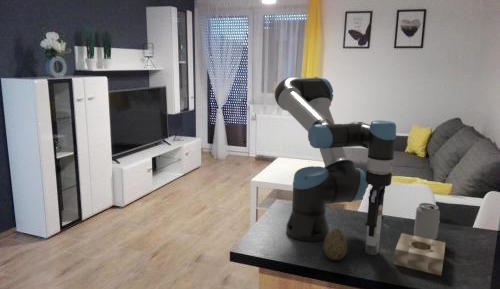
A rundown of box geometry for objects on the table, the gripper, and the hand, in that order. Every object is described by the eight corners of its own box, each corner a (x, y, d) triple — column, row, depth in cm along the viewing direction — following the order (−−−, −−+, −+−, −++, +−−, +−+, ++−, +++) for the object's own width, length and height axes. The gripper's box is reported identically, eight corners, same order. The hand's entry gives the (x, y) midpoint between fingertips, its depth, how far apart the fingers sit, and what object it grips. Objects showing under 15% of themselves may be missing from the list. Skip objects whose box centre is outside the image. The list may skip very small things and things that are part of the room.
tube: (363, 253, 124) (367, 205, 121) (366, 248, 128) (370, 201, 125) (377, 256, 122) (381, 208, 119) (379, 251, 126) (384, 204, 123)
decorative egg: (346, 266, 116) (348, 235, 114) (322, 263, 117) (324, 232, 115) (346, 255, 123) (348, 225, 121) (323, 252, 124) (325, 223, 122)
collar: (393, 264, 118) (395, 248, 117) (400, 247, 129) (401, 233, 128) (441, 275, 112) (443, 259, 111) (443, 257, 123) (445, 242, 122)
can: (439, 243, 132) (443, 210, 130) (415, 241, 134) (419, 208, 131) (433, 234, 140) (437, 202, 137) (411, 232, 141) (415, 200, 139)
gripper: (386, 180, 110) (379, 255, 115) (396, 166, 126) (389, 233, 130) (360, 176, 114) (354, 249, 118) (372, 163, 129) (366, 228, 134)
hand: (372, 241), depth 124 cm, fingers open, 5 cm apart
